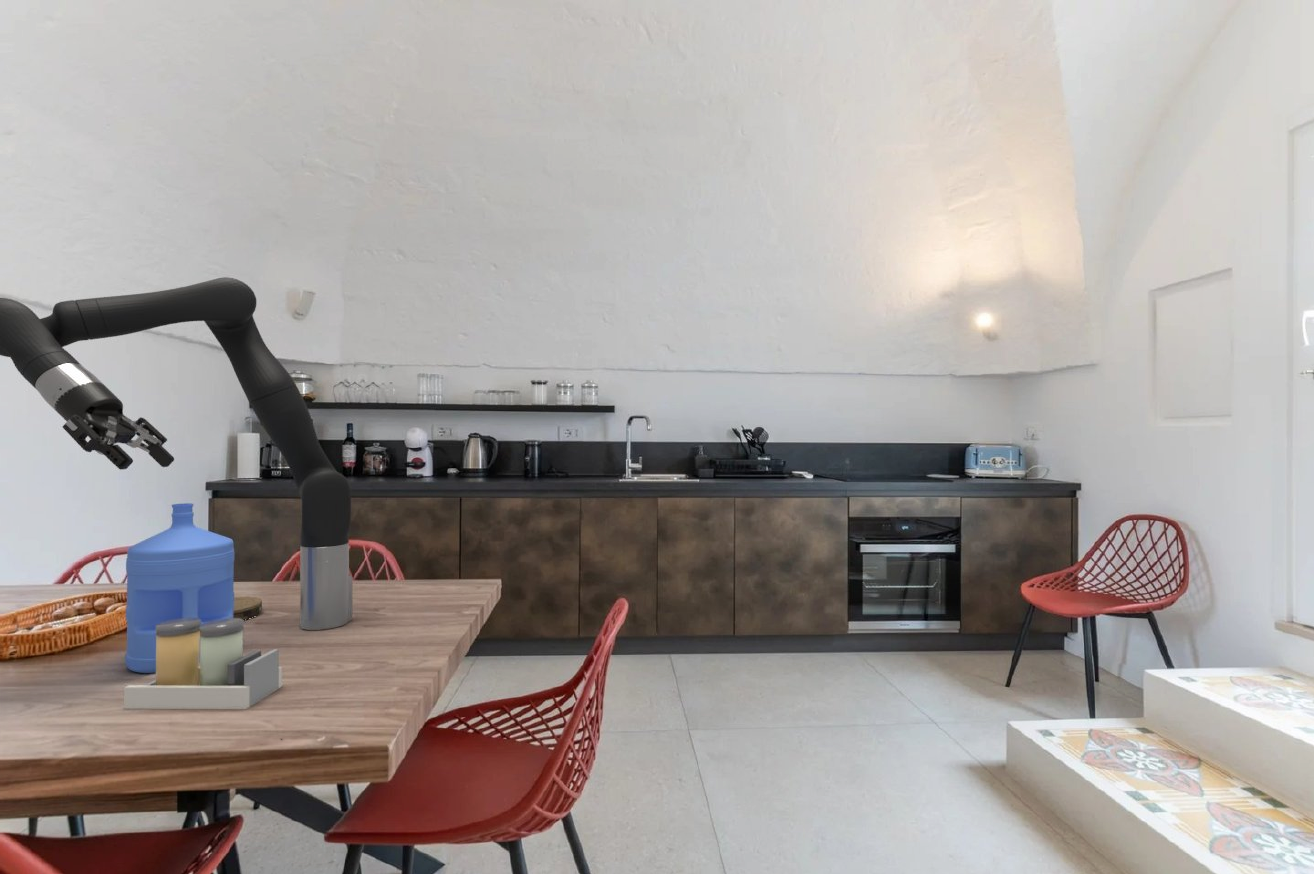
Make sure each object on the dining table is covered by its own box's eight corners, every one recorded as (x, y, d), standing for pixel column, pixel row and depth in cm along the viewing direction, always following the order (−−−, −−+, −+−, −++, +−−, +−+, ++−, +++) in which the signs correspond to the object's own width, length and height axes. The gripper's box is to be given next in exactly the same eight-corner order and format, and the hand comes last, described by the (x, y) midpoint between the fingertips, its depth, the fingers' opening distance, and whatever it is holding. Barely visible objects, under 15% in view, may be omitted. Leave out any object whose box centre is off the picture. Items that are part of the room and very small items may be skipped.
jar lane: (124, 715, 90) (124, 666, 90) (170, 691, 98) (170, 647, 98) (245, 715, 89) (245, 666, 89) (281, 692, 98) (281, 647, 98)
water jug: (118, 660, 113) (119, 504, 113) (222, 639, 124) (223, 498, 124) (133, 682, 102) (133, 510, 102) (244, 658, 113) (245, 503, 114)
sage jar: (227, 687, 97) (227, 616, 97) (251, 692, 95) (251, 620, 95) (190, 701, 92) (190, 626, 92) (215, 706, 90) (215, 630, 90)
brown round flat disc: (218, 608, 149) (218, 595, 149) (278, 610, 147) (278, 597, 147) (155, 627, 133) (155, 613, 133) (221, 630, 131) (222, 616, 131)
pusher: (227, 704, 91) (227, 664, 91) (254, 688, 97) (254, 650, 97) (239, 704, 91) (239, 664, 91) (266, 688, 97) (266, 650, 97)
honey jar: (184, 687, 97) (186, 616, 97) (208, 692, 95) (209, 620, 95) (145, 700, 92) (147, 625, 92) (169, 705, 90) (170, 629, 90)
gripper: (54, 376, 97) (129, 449, 97) (131, 384, 111) (196, 447, 111) (20, 411, 97) (95, 484, 97) (102, 414, 111) (167, 478, 111)
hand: (149, 464), depth 104 cm, fingers open, 8 cm apart
